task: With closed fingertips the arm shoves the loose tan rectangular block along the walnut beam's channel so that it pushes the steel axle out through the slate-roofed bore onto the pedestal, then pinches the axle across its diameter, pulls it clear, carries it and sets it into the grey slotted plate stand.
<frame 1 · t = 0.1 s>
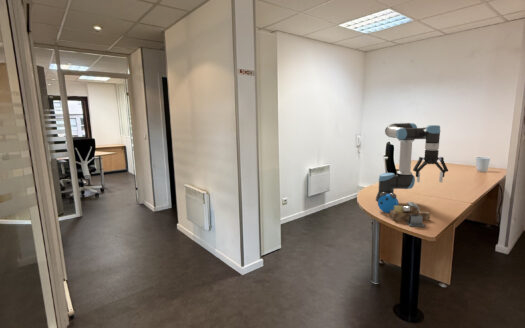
hand: (429, 182, 182), 28 cm above the table, fingers open, 13 cm apart
tan rectangular block: (398, 211, 194), point 5 cm above the table, touching beam
axle: (410, 212, 193), point 5 cm above the table, touching beam
beam: (411, 219, 194), on the table
alarm clock: (387, 212, 209), on the table
grey slotted plate stand: (415, 224, 184), on the table
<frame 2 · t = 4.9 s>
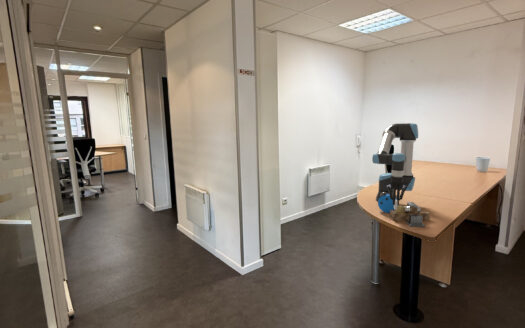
hand: (395, 209, 194), 7 cm above the table, fingers closed
tan rectangular block: (400, 211, 194), point 5 cm above the table, touching axle, gripper
axle: (411, 212, 193), point 5 cm above the table, touching beam, tan rectangular block
everything else where it was.
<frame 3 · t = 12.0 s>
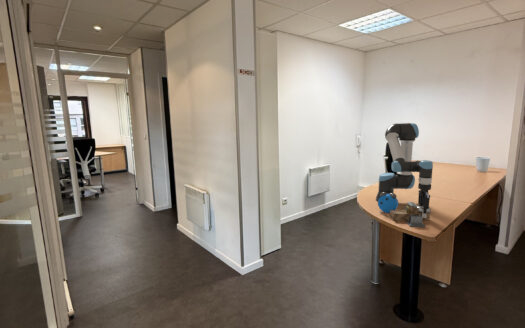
hand: (422, 216, 192), 2 cm above the table, fingers closed on axle, 4 cm apart
tan rectangular block: (409, 212, 193), point 5 cm above the table, touching beam
axle: (421, 212, 192), point 5 cm above the table, touching beam, gripper
everything else where it was.
when the fingers open (3 cm above the table, at t = 18.1 s): axle stays where it is, resting on grey slotted plate stand.
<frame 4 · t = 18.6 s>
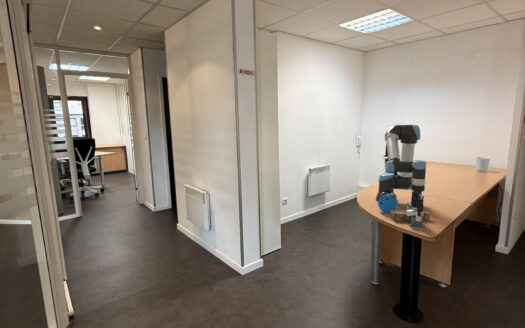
hand: (416, 218, 183), 4 cm above the table, fingers open, 6 cm apart
axle: (414, 216, 183), point 6 cm above the table, tilted 6°, touching grey slotted plate stand
everything else where it was.
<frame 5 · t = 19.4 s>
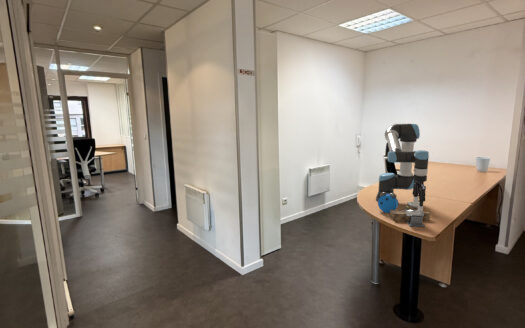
hand: (417, 208, 183), 11 cm above the table, fingers open, 8 cm apart
nothing on the table moved.
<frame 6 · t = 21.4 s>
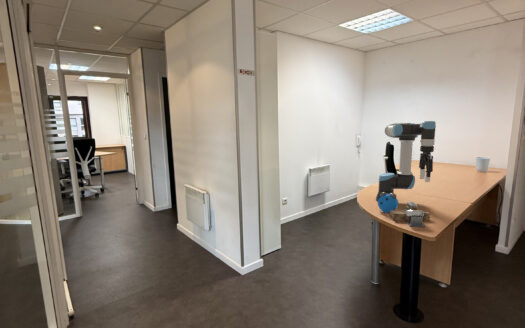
hand: (424, 180, 181), 29 cm above the table, fingers open, 8 cm apart
nothing on the table moved.
at the end: axle 0.9 cm off-centre on the grey slotted plate stand, point 5.7 cm above the grey slotted plate stand's base; axle touching grey slotted plate stand; the gripper is holding nothing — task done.
